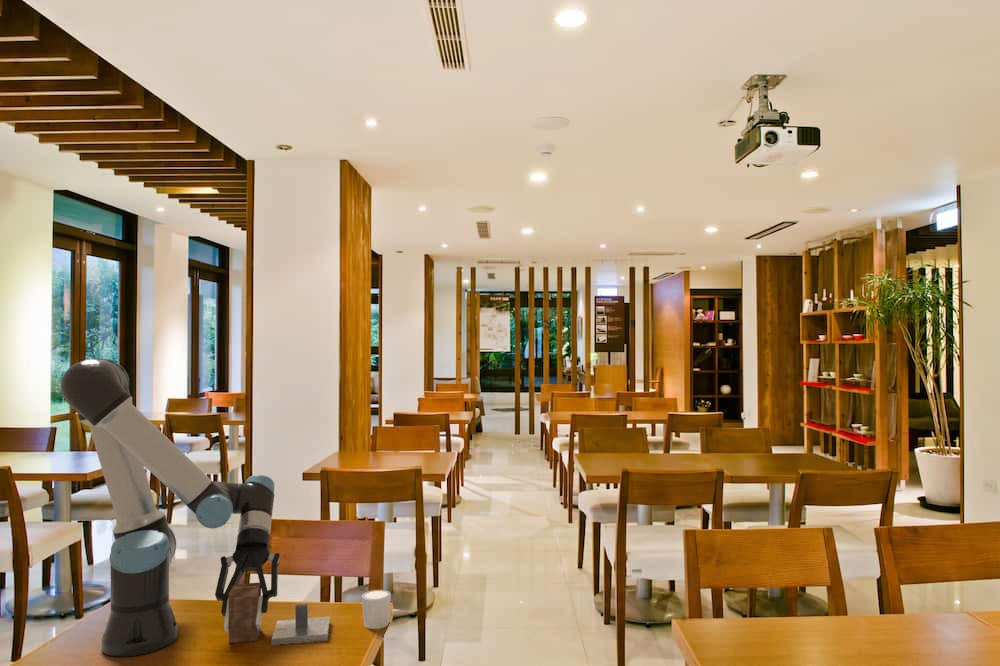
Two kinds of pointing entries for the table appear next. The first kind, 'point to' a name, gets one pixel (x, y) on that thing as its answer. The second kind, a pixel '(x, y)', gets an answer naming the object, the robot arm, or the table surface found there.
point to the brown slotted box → (243, 612)
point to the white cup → (376, 608)
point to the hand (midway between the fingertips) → (242, 627)
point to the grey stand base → (301, 628)
